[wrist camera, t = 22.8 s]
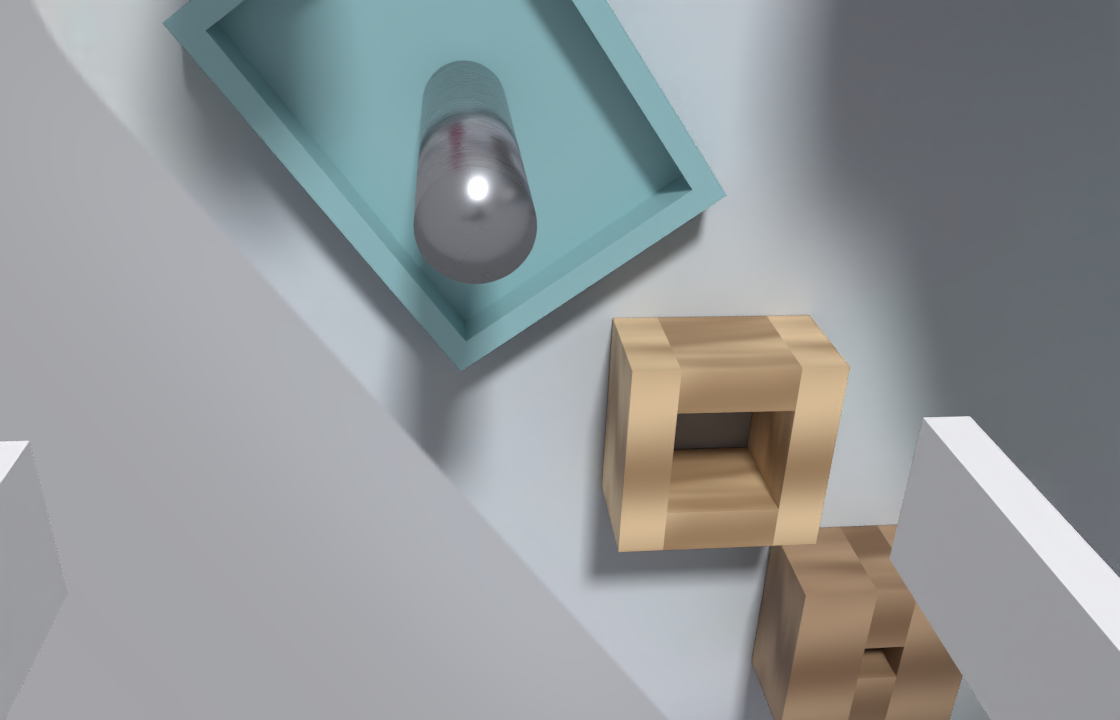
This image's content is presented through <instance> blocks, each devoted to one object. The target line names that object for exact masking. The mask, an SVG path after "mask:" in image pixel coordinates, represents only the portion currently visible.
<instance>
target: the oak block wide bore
mask: <svg viewBox="0 0 1120 720" xmlns="http://www.w3.org/2000/svg"><path fill="white" fill-rule="evenodd" d="M849 370H850V366H849V365H848V364H847V363H846V361H845V360H844V359H843V357H842V356H841V355H840V354H839V352H838V351H837V350H836V348H835V347H834V346H833V345H832V343H831V342H830V341H829V340H828V338H827V337H826V336H825V334H824V333H823V332H822V331H821V329H820V328H819V327H818V326H817V324H816V323H815V322H814V320H813V319H812V318H811V317H810V315H801V316H730V317H658V318H613V327H612V342H611V357H610V372H609V387H608V403H607V418H606V433H605V448H604V464H603V479H602V489H603V493H604V497H605V501H606V505H607V509H608V513H609V516H610V520H611V524H612V528H613V532H614V536H615V540H616V544H617V548H618V552H629V551H654V550H678V549H703V548H727V547H752V546H777V545H801V544H816V541H817V536H818V531H819V525H820V520H821V515H822V510H823V505H824V499H825V494H826V489H827V484H828V479H829V474H830V468H831V463H832V458H833V453H834V448H835V442H836V437H837V432H838V427H839V422H840V417H841V411H842V406H843V401H844V396H845V391H846V386H847V380H848V375H849ZM721 412H753V414H752V420H751V427H750V434H749V441H748V448H714V449H680V450H674V440H675V431H676V421H677V414H681V413H721Z"/></svg>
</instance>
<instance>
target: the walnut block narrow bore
mask: <svg viewBox="0 0 1120 720" xmlns="http://www.w3.org/2000/svg"><path fill="white" fill-rule="evenodd" d="M896 529H897V525H879V526H853V527H827V528H819V531H818V536H817V541H816V544H801V545H777V546H771V549H770V555H769V561H768V567H767V573H766V579H765V585H764V591H763V597H762V603H761V609H760V615H759V621H758V627H757V633H756V639H755V645H754V651H753V657H752V664H753V666H754V669H755V671H756V674H757V677H758V679H759V682H760V685H761V687H762V690H763V692H764V695H765V698H766V700H767V703H768V706H769V708H770V711H771V713H772V716H773V719H774V720H949V719H950V716H951V712H952V709H953V706H954V702H955V699H956V696H957V693H958V689H959V686H960V683H961V679H962V676H963V675H962V674H961V672H960V671H959V669H958V667H957V666H956V664H955V663H954V661H953V660H952V658H951V656H950V655H949V653H948V652H947V650H946V648H945V647H944V645H943V644H942V642H941V640H940V639H939V637H938V636H937V634H936V632H935V631H934V629H933V628H932V626H931V624H930V623H929V621H928V620H927V618H926V617H925V615H924V613H923V612H922V610H921V609H920V607H919V605H918V604H917V602H916V601H915V599H914V597H913V596H912V594H911V593H910V591H909V589H908V588H907V586H906V585H905V583H904V581H903V580H902V578H901V577H900V575H899V574H898V572H897V570H896V569H895V567H894V566H893V564H892V562H891V561H890V559H889V558H890V554H891V550H892V546H893V541H894V537H895V533H896Z"/></svg>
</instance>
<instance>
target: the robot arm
mask: <svg viewBox="0 0 1120 720" xmlns="http://www.w3.org/2000/svg"><path fill="white" fill-rule="evenodd" d="M889 559H890V561H891V562H892V564H893V566H894V567H895V569H896V570H897V572H898V574H899V575H900V577H901V578H902V580H903V581H904V583H905V585H906V586H907V588H908V589H909V591H910V593H911V594H912V596H913V597H914V599H915V601H916V602H917V604H918V605H919V607H920V609H921V610H922V612H923V613H924V615H925V617H926V618H927V620H928V621H929V623H930V624H931V626H932V628H933V629H934V631H935V632H936V634H937V636H938V637H939V639H940V640H941V642H942V644H943V645H944V647H945V648H946V650H947V652H948V653H949V655H950V656H951V658H952V660H953V661H954V663H955V664H956V666H957V667H958V669H959V671H960V672H961V674H962V675H963V677H964V679H965V680H966V682H967V683H968V685H969V687H970V688H971V690H972V691H973V693H974V695H975V696H976V698H977V699H978V701H979V703H980V704H981V706H982V707H983V709H984V710H985V712H986V714H987V715H988V717H989V718H990V720H1120V578H1119V577H1118V576H1117V575H1116V574H1115V572H1114V571H1113V570H1112V569H1111V568H1110V567H1109V566H1108V565H1107V564H1106V563H1105V562H1104V561H1103V559H1102V558H1101V557H1100V556H1099V555H1098V554H1097V553H1096V552H1095V551H1094V550H1093V549H1092V548H1091V547H1090V545H1089V544H1088V543H1087V542H1086V541H1085V540H1084V539H1083V538H1082V537H1081V536H1080V535H1079V534H1078V532H1077V531H1076V530H1075V529H1074V528H1073V527H1072V526H1071V525H1070V524H1069V523H1068V522H1067V521H1066V520H1065V518H1064V517H1063V516H1062V515H1061V514H1060V513H1059V512H1058V511H1057V510H1056V509H1055V508H1054V507H1053V505H1052V504H1051V503H1050V502H1049V501H1048V500H1047V499H1046V498H1045V497H1044V496H1043V495H1042V494H1041V493H1040V491H1039V490H1038V489H1037V488H1036V487H1035V486H1034V485H1033V484H1032V483H1031V482H1030V481H1029V480H1028V478H1027V477H1026V476H1025V475H1024V474H1023V473H1022V472H1021V471H1020V470H1019V469H1018V468H1017V467H1016V466H1015V464H1014V463H1013V462H1012V461H1011V460H1010V459H1009V458H1008V457H1007V456H1006V455H1005V454H1004V453H1003V451H1002V450H1001V449H1000V448H999V447H998V446H997V445H996V444H995V443H994V442H993V441H992V440H991V439H990V437H989V436H988V435H987V434H986V433H985V432H984V431H983V430H982V429H981V428H980V427H979V426H978V424H977V423H976V422H975V421H974V420H973V419H972V418H971V417H970V416H962V417H923V420H922V424H921V428H920V432H919V436H918V441H917V445H916V449H915V453H914V457H913V462H912V466H911V470H910V474H909V478H908V483H907V487H906V491H905V495H904V499H903V504H902V508H901V512H900V516H899V520H898V525H897V529H896V533H895V537H894V541H893V546H892V550H891V554H890V558H889ZM67 595H68V591H67V588H66V583H65V579H64V576H63V572H62V568H61V564H60V560H59V556H58V552H57V548H56V544H55V540H54V536H53V532H52V528H51V524H50V520H49V516H48V512H47V508H46V504H45V500H44V496H43V492H42V488H41V484H40V480H39V476H38V472H37V468H36V465H35V460H34V457H33V452H32V449H31V445H30V441H9V442H0V720H6V718H7V716H8V714H9V712H10V710H11V708H12V706H13V704H14V702H15V700H16V698H17V696H18V694H19V692H20V690H21V688H22V686H23V684H24V681H25V680H26V677H27V676H28V674H29V672H30V669H31V668H32V666H33V663H34V662H35V659H36V658H37V656H38V654H39V652H40V650H41V648H42V645H43V643H44V642H45V640H46V638H47V636H48V633H49V631H50V629H51V627H52V625H53V624H54V621H55V619H56V617H57V615H58V613H59V611H60V609H61V607H62V605H63V603H64V601H65V599H66V597H67Z"/></svg>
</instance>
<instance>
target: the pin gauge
mask: <svg viewBox="0 0 1120 720" xmlns="http://www.w3.org/2000/svg"><path fill="white" fill-rule="evenodd" d="M413 227H414V236H415V240H416V243H417V246H418V248H419V251H420V252H421V254H422V256H423V257H424V259H425V260H426V261H427V263H428V264H429V265H430V266H431V267H432V268H433V269H435V270H436V271H437V272H438V273H440V274H442V275H443V276H445V277H447V278H449V279H452V280H454V281H458V282H461V283H467V284H484V283H489V282H493V281H496V280H499V279H501V278H504V277H506V276H507V275H509V274H511V273H512V272H514V271H515V270H516V269H517V268H519V266H520V265H521V264H522V263H523V262H524V261H525V260H526V258H527V257H528V255H529V254H530V252H531V250H532V248H533V245H534V243H535V239H536V234H537V217H536V212H535V208H534V204H533V200H532V196H531V192H530V189H529V185H528V181H527V177H526V173H525V169H524V165H523V161H522V157H521V154H520V150H519V146H518V142H517V138H516V134H515V130H514V126H513V123H512V119H511V115H510V111H509V107H508V103H507V99H506V95H505V92H504V89H503V86H502V84H501V82H500V81H499V79H498V78H497V76H496V75H495V74H494V73H493V72H492V71H491V70H490V69H488V68H487V67H485V66H483V65H482V64H479V63H477V62H473V61H466V60H462V61H454V62H451V63H448V64H446V65H444V66H442V67H441V68H439V69H438V70H437V71H436V72H434V74H433V75H432V76H431V77H430V79H429V80H428V82H427V84H426V86H425V89H424V93H423V102H422V115H421V129H420V142H419V156H418V169H417V183H416V196H415V210H414V226H413Z"/></svg>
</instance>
